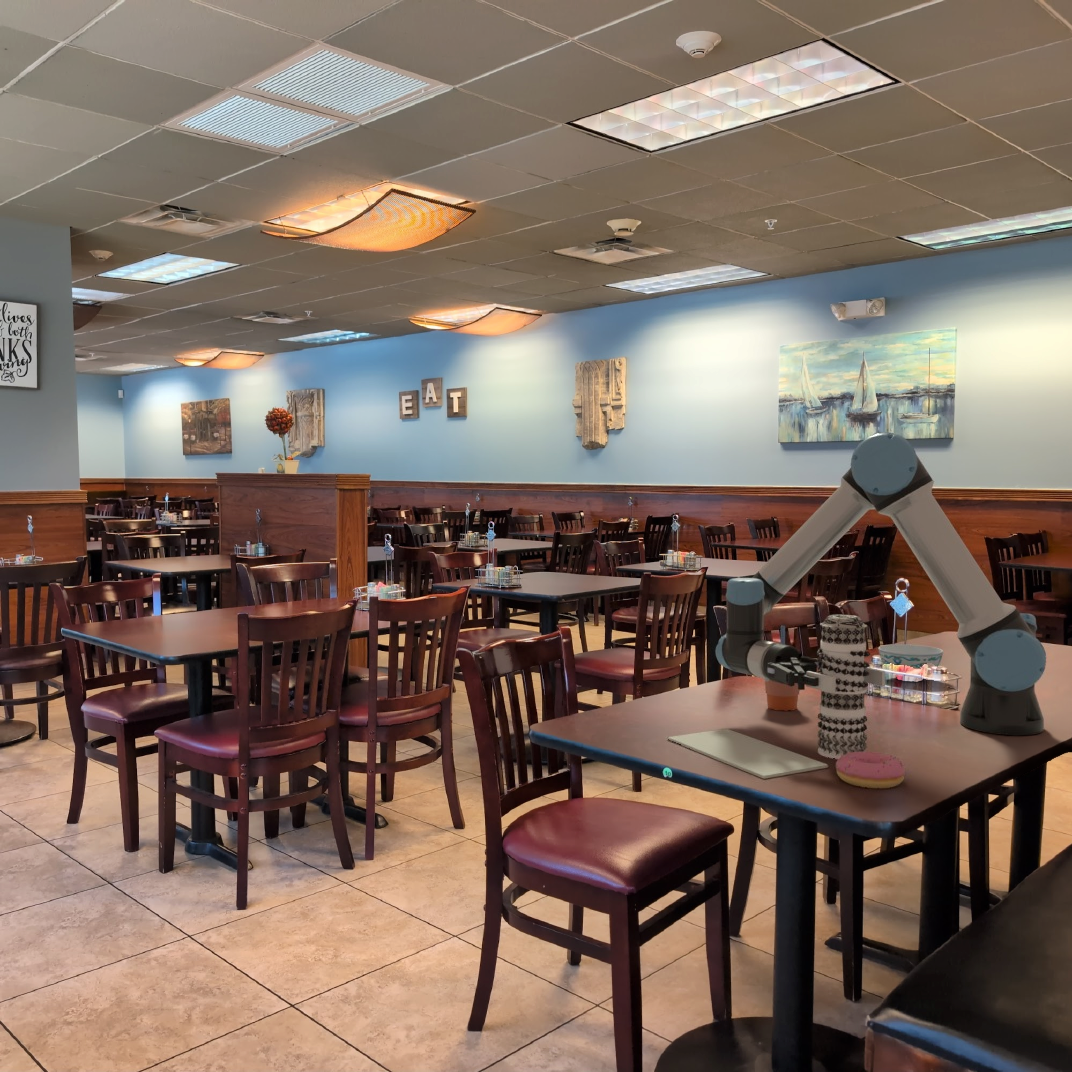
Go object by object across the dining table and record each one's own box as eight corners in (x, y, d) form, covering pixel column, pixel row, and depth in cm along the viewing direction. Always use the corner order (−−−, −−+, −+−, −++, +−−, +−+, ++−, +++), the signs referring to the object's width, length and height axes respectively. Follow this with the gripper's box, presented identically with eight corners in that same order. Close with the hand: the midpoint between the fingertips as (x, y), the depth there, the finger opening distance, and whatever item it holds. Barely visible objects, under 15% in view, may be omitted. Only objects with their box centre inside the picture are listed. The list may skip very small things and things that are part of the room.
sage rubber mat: (667, 739, 186) (667, 737, 186) (726, 731, 192) (726, 728, 192) (763, 778, 161) (763, 775, 161) (828, 767, 167) (828, 764, 167)
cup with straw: (785, 714, 206) (785, 630, 205) (752, 706, 213) (752, 625, 212) (812, 708, 211) (813, 626, 210) (779, 701, 218) (780, 621, 218)
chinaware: (938, 675, 247) (939, 645, 247) (945, 687, 233) (946, 655, 233) (876, 672, 252) (877, 643, 251) (879, 684, 237) (880, 652, 237)
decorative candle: (863, 747, 180) (865, 613, 178) (873, 761, 171) (875, 620, 169) (812, 745, 181) (813, 612, 180) (819, 759, 172) (821, 619, 171)
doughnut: (905, 794, 153) (905, 768, 153) (832, 787, 157) (832, 761, 157) (906, 775, 163) (906, 751, 163) (837, 769, 167) (838, 745, 167)
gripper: (821, 675, 197) (906, 696, 177) (728, 686, 186) (807, 710, 167) (821, 638, 196) (907, 655, 177) (728, 648, 186) (808, 666, 166)
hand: (859, 682), depth 172 cm, fingers open, 11 cm apart
